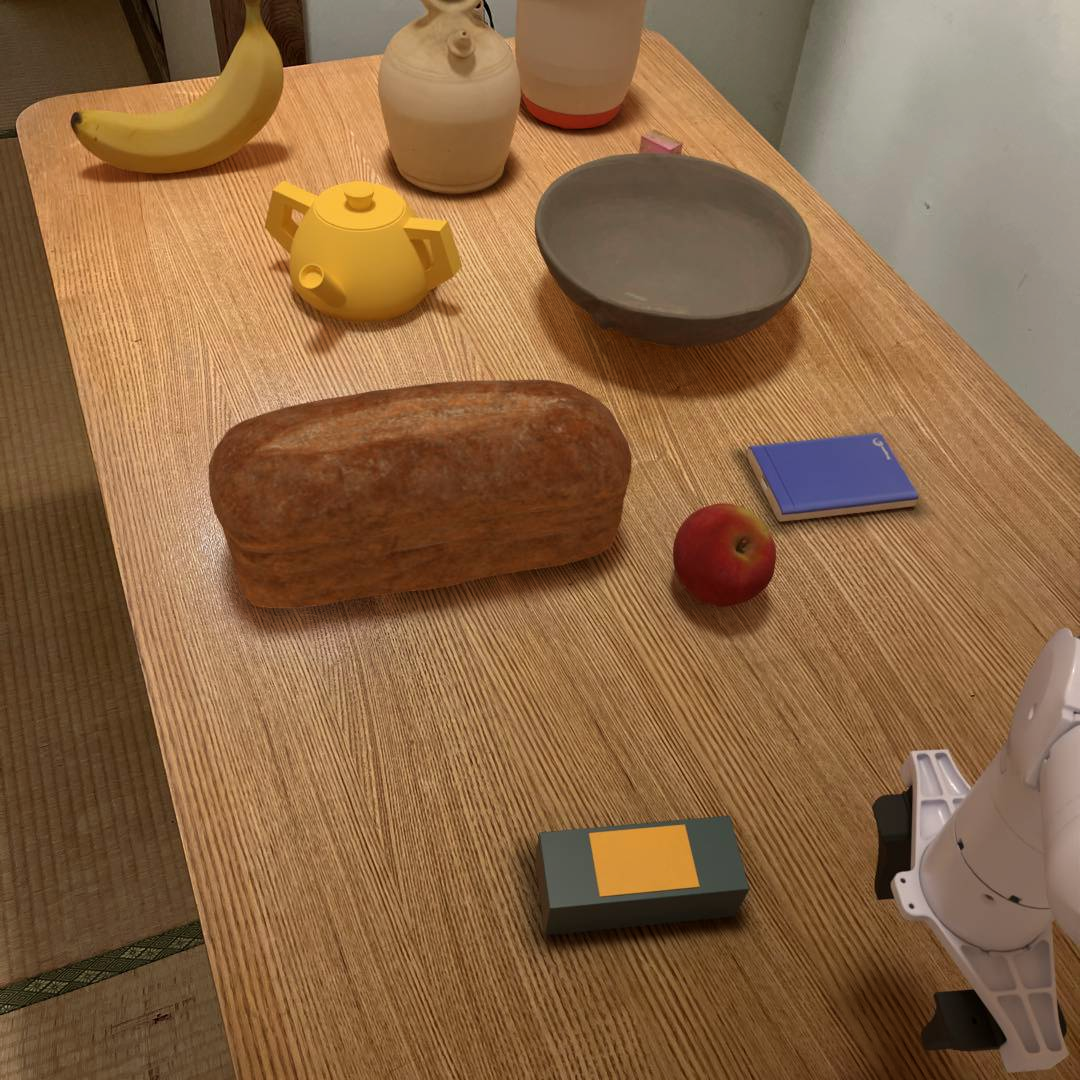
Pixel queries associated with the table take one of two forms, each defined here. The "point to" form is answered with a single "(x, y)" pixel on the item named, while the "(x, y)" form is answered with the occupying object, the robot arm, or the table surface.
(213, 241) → the table surface
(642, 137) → the perfume bottle
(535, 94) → the citrus juicer
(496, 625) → the table surface
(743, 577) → the apple
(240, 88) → the banana
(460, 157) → the jug
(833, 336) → the table surface
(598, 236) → the bowl
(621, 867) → the packet
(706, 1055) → the table surface
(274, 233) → the teapot
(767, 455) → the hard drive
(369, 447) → the bread
